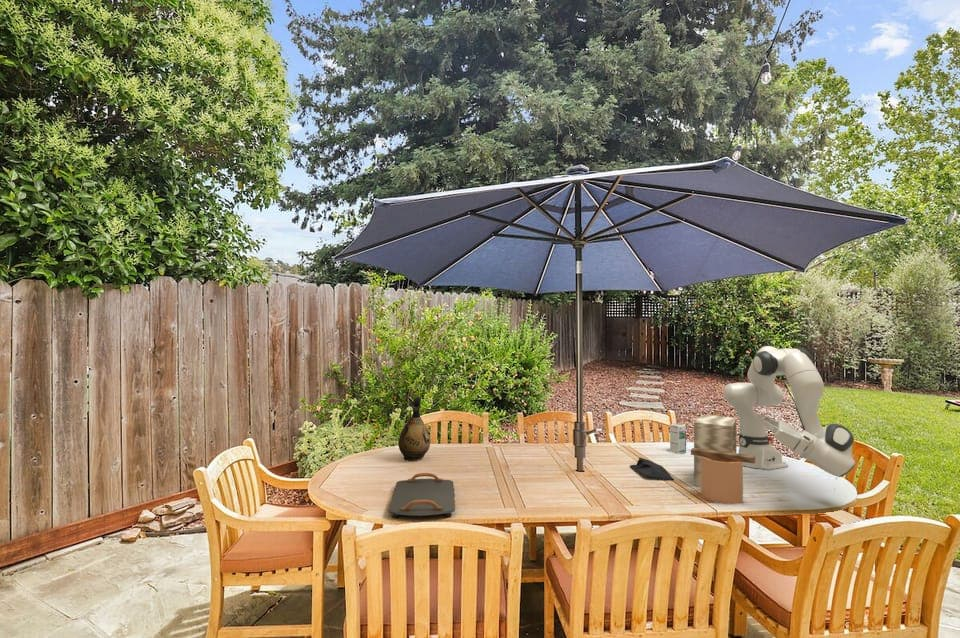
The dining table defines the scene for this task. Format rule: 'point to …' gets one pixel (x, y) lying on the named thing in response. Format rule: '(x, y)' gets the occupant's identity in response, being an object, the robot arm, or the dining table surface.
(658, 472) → the black cloth
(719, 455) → the slat
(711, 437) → the zigzag patterned cylinder
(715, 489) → the pot
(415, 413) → the ceramic jug
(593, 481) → the dining table surface
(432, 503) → the serving board
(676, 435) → the syrup box
